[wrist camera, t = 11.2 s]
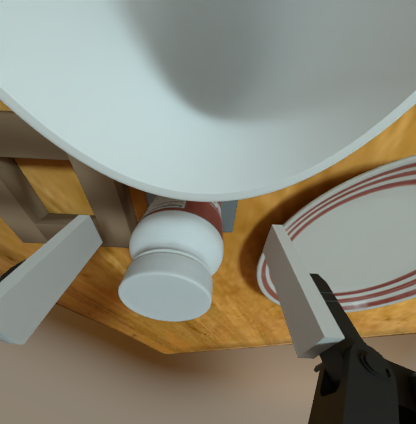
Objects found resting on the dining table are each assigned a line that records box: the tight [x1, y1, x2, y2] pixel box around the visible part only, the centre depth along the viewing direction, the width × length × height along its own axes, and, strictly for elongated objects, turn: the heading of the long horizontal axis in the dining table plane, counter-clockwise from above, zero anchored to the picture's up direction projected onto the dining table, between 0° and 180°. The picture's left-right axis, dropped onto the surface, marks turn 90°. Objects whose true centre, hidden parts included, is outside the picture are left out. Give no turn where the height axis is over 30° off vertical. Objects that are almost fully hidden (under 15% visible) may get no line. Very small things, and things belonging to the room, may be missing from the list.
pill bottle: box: [118, 195, 223, 321], centre depth 12 cm, size 6×6×11 cm
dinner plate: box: [257, 155, 416, 313], centre depth 20 cm, size 28×27×3 cm
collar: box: [0, 111, 138, 248], centre depth 17 cm, size 14×14×2 cm
